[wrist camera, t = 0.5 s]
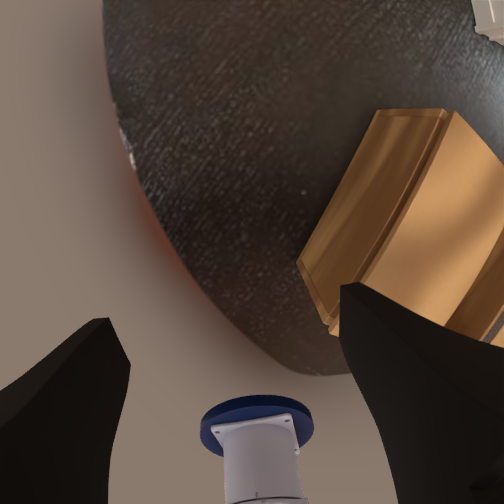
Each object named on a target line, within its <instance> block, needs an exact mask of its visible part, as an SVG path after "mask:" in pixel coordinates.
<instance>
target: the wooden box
mask: <svg viewBox="0 0 504 504" xmlns="http://www.w3.org/2000/svg"><path fill="white" fill-rule="evenodd" d="M296 264H297V266H298V269H299V271H300V273H301V275H302V277H303V279H304V282H305V284H306V286H307V288H308V290H309V292H310V295H311V297H312V299H313V301H314V304H315V306H316V308H317V310H318V312H319V315H320V317H321V319H322V321H323V323H324V324H326V325H329V328H328V331H329V333H330V334H332V335H335V336H338V337H339V314H340V285H344V284H350V283H355V282H360V283H363V284H365V285H367V286H368V287H370V288H372V289H374V290H376V291H377V292H379V293H381V294H383V295H384V296H386V297H388V298H390V299H391V300H393V301H395V302H397V303H398V304H400V305H402V306H404V307H406V308H408V309H409V310H411V311H413V312H415V313H417V314H419V315H421V316H423V317H425V318H427V319H429V320H431V321H433V322H435V323H437V324H439V325H441V326H443V327H446V328H448V329H450V330H453V331H455V332H458V333H460V334H463V335H465V336H468V337H471V338H473V339H476V340H479V341H482V340H483V339H484V338H485V336H486V335H487V333H488V332H489V331H490V329H491V328H492V326H493V325H494V323H495V322H496V321H497V319H498V318H499V316H500V315H501V313H502V311H503V310H504V166H503V164H502V163H501V162H500V161H499V159H498V158H497V157H496V156H495V154H494V153H493V152H492V151H491V149H490V148H489V147H488V146H487V145H486V144H485V142H484V141H483V140H482V139H481V138H480V137H479V136H478V134H477V133H476V132H475V131H474V130H473V129H472V128H471V127H470V126H469V125H468V124H467V122H466V121H465V120H464V119H463V118H462V117H461V116H460V115H459V114H458V113H457V112H456V111H449V113H447V112H446V111H445V110H444V109H442V108H408V109H381V110H377V111H376V113H375V115H374V117H373V119H372V121H371V123H370V125H369V127H368V129H367V131H366V133H365V135H364V137H363V139H362V141H361V143H360V145H359V147H358V149H357V151H356V153H355V155H354V157H353V159H352V160H351V162H350V164H349V166H348V168H347V170H346V172H345V174H344V176H343V178H342V180H341V181H340V183H339V185H338V187H337V189H336V191H335V193H334V195H333V196H332V198H331V200H330V202H329V204H328V206H327V208H326V209H325V211H324V213H323V215H322V217H321V219H320V220H319V222H318V224H317V226H316V228H315V229H314V231H313V233H312V235H311V237H310V238H309V240H308V242H307V244H306V245H305V247H304V249H303V251H302V253H301V254H300V256H299V258H298V260H297V261H296Z"/></svg>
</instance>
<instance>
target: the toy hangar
mask: <svg viewBox="0 0 504 504" xmlns="http://www.w3.org/2000/svg"><path fill="white" fill-rule="evenodd" d="M471 2H472V6H473V11H474V16H475V21H476V26H474V27H475V32H476V33H478V34H484V35H486V36H488V37H489V40H491V41H496V42H498V43H499V44H501V45H502V46H504V0H471Z"/></svg>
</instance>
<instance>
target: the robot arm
mask: <svg viewBox="0 0 504 504" xmlns="http://www.w3.org/2000/svg"><path fill="white" fill-rule="evenodd" d="M339 341H340V344H341V347H342V350H343V353H344V356H345V358H346V361H347V364H348V366H349V368H350V370H351V372H352V374H353V377H354V379H355V381H356V383H357V385H358V387H359V389H360V391H361V393H362V395H363V397H364V399H365V401H366V403H367V405H368V407H369V409H370V412H371V414H372V416H373V418H374V420H375V422H376V425H377V427H378V429H379V433H380V436H381V438H382V442H383V445H384V448H385V451H386V455H387V458H388V462H389V466H390V469H391V473H392V477H393V481H394V485H395V489H396V494H397V499H398V504H504V348H503V347H499V346H496V345H492V344H489V343H485V342H482V341H479V340H476V339H473V338H471V337H468V336H465V335H463V334H460V333H458V332H455V331H453V330H450V329H448V328H446V327H443V326H441V325H439V324H437V323H435V322H433V321H431V320H429V319H427V318H425V317H423V316H421V315H419V314H417V313H415V312H413V311H411V310H409V309H408V308H406V307H404V306H402V305H400V304H398V303H397V302H395V301H393V300H391V299H390V298H388V297H386V296H384V295H383V294H381V293H379V292H377V291H376V290H374V289H372V288H370V287H368V286H367V285H365V284H363V283H360V282H355V283H350V284H344V285H340V314H339ZM130 367H131V364H130V362H129V360H128V358H127V356H126V354H125V352H124V350H123V348H122V345H121V343H120V341H119V339H118V337H117V335H116V332H115V330H114V328H113V326H112V323H111V321H110V319H109V317H108V318H97V319H92V320H91V321H89V322H88V323H86V324H85V325H83V326H82V327H81V328H80V329H78V330H77V331H76V332H75V333H73V334H72V335H71V336H70V337H69V338H68V339H66V340H65V341H64V342H63V343H61V344H60V345H59V346H58V347H57V348H55V349H54V350H53V351H52V352H51V353H50V354H48V355H47V356H46V357H45V358H43V359H42V360H41V361H40V362H38V363H37V364H36V365H35V366H34V367H32V368H31V369H30V370H29V371H27V372H26V373H25V374H24V375H23V376H21V377H20V378H18V379H17V380H15V381H14V382H13V383H11V384H10V385H8V386H7V387H5V388H4V389H2V390H1V391H0V504H108V480H109V468H110V457H111V451H112V447H113V442H114V438H115V434H116V431H117V427H118V423H119V419H120V415H121V412H122V408H123V404H124V401H125V397H126V393H127V388H128V381H129V375H130ZM211 431H212V432H213V434H214V435H215V437H216V439H217V440H218V442H219V443H220V445H221V446H222V448H223V449H224V482H225V483H224V484H225V504H309V503H308V499H307V498H304V494H303V489H302V484H301V479H300V474H299V469H298V463H297V458H296V455H298V454H300V450H299V446H298V441H297V437H296V433H295V429H294V425H293V420H292V416H291V414H290V413H282V414H277V415H272V416H267V417H261V418H256V419H250V420H244V421H237V422H230V423H223V424H215V425H212V426H211Z"/></svg>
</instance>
